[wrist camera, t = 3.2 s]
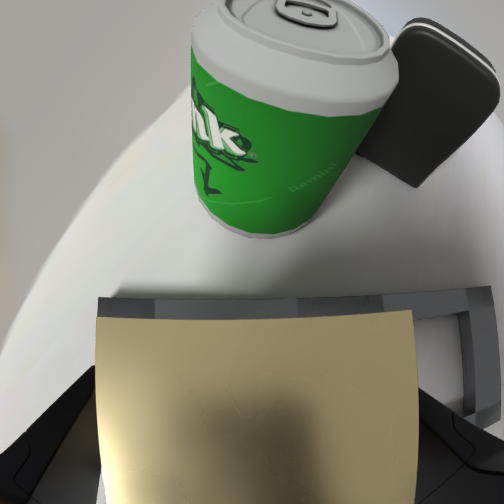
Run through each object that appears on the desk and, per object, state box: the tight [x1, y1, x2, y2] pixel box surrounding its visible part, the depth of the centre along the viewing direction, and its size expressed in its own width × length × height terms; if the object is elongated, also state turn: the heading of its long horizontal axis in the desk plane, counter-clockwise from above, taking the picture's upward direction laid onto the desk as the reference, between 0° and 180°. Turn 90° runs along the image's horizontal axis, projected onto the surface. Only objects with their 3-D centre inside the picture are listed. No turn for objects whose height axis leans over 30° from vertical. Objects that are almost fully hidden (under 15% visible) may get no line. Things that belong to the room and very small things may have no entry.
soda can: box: [191, 0, 399, 239], centre depth 14 cm, size 8×8×12 cm
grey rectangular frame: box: [97, 286, 501, 429], centre depth 15 cm, size 10×25×1 cm, turn 92°
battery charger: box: [356, 18, 501, 188], centre depth 17 cm, size 7×4×11 cm, turn 61°
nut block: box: [95, 310, 419, 504], centre depth 9 cm, size 5×5×12 cm
